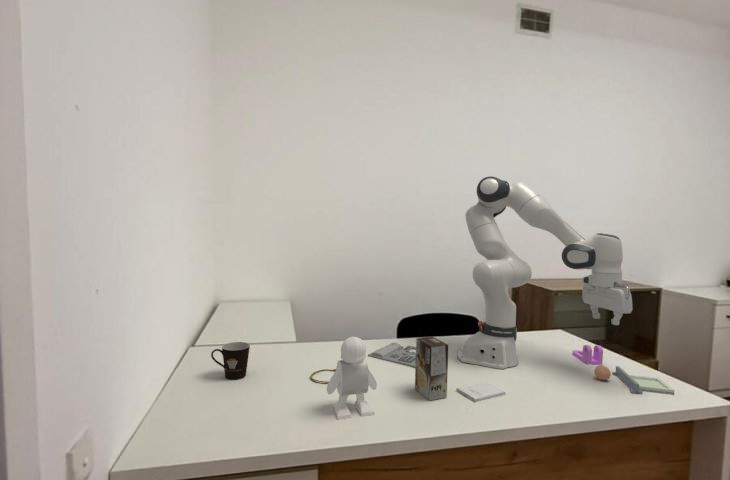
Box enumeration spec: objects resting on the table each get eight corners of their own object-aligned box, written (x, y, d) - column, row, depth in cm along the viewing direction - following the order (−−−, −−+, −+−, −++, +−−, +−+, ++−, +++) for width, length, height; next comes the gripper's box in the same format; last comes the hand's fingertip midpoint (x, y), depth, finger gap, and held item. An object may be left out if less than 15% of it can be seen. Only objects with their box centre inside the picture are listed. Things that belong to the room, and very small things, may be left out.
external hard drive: (505, 396, 117) (474, 403, 112) (485, 385, 124) (456, 392, 119) (505, 391, 117) (475, 398, 111) (485, 380, 124) (456, 387, 119)
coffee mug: (254, 374, 127) (255, 344, 127) (236, 383, 119) (236, 352, 119) (228, 367, 132) (228, 339, 132) (208, 376, 124) (209, 346, 124)
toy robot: (330, 420, 99) (332, 344, 98) (323, 404, 107) (325, 334, 107) (381, 413, 103) (383, 340, 102) (370, 399, 112) (372, 331, 111)
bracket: (602, 365, 146) (603, 347, 145) (587, 364, 146) (588, 346, 145) (583, 353, 159) (584, 337, 158) (569, 353, 159) (570, 336, 158)
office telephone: (367, 351, 147) (391, 338, 164) (367, 358, 148) (391, 344, 164) (423, 364, 135) (443, 349, 152) (422, 371, 135) (443, 355, 152)
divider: (631, 392, 121) (632, 383, 121) (612, 374, 136) (612, 365, 136) (642, 394, 120) (642, 384, 120) (621, 375, 136) (622, 366, 136)
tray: (638, 390, 123) (638, 386, 123) (625, 378, 133) (625, 374, 133) (674, 394, 121) (674, 390, 121) (658, 382, 130) (658, 378, 130)
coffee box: (447, 397, 114) (450, 344, 113) (429, 401, 111) (431, 346, 111) (430, 385, 122) (432, 335, 122) (413, 388, 120) (415, 337, 119)
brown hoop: (361, 382, 124) (361, 376, 124) (313, 387, 119) (313, 381, 119) (350, 368, 136) (350, 362, 136) (306, 372, 131) (306, 367, 131)
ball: (596, 381, 129) (597, 367, 129) (591, 376, 134) (592, 362, 134) (612, 383, 128) (613, 369, 128) (607, 377, 133) (608, 364, 133)
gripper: (638, 285, 120) (637, 328, 120) (595, 277, 141) (594, 315, 141) (619, 285, 120) (618, 328, 120) (579, 277, 140) (578, 315, 141)
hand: (605, 321), depth 131 cm, fingers open, 8 cm apart
